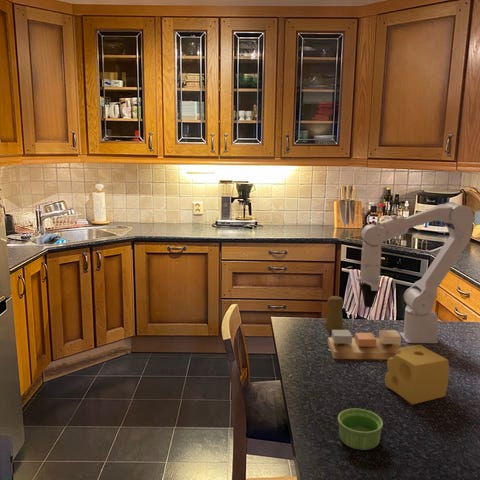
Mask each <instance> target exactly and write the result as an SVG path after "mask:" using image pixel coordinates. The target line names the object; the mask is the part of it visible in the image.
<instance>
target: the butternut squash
mask: <svg viewBox="0 0 480 480" xmlns="http://www.w3.org/2000/svg"><path fill="white" fill-rule="evenodd" d="M327 306H328V311H327V317H326V321H325V327H324V328H325V330H326V331H328V332H330V333H332V330H345V328H344V320H343V306H344V299H343V297H341V296H338V295H331V296H329V297H328V298H327Z"/></svg>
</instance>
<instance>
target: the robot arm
mask: <svg viewBox="0 0 480 480" xmlns="http://www.w3.org/2000/svg"><path fill="white" fill-rule="evenodd" d="M475 220H476V218H475V216H474V213H473V210H472V209H471V208H470V207H469V206H467V205H464V204H459V203H456V202H454V201H448V202H446V203H441V204H437V205H435V206H433V207H430V208H428V209H425V210H423V211H419V212H416V213H415V214H412V215H409V216H407V217H403V216H401V215H395V214H394V215H391V216H390V218H388V219H386V220H383V221H382V220H381V221H375V224H373V223H371V224H370V223H368V224H366V225H365V226H364V227H363V228H362V230H361V232H360V238H361V239H362V247H361V259H360V276H356V279H355V280H356V281H359V282H358V283H359V284H358V285H359V287H360V290H361V293H362V298H363V300H362V301H363V305H364V307H365V308H372V307H373V305H374V302H375V300H376V296H377V294H378V293H379V292H380V289H381V286H380V282H381V278H380V277H381V263H382V261H381V260H382V244H384V242H385V241H387V240H391V239H395V238H396V237H399V236H402V235H406V234H407V232H408V230H409V229H411V228H414V227H417V226H421V225H424V224H428V223H431V222H442V223H444V224H445V226H446V228H447V230H448V233H449V237H448V238H447V240H446V241H445V243H444V245H443V246H442V247H441V249H440V250H439V252H438V253H437V255H436V256H435V258H434V259H433V261H432V262H431V264H430V265H429V267H428V268H427V269H426V271H425V272H424V274H423V275H422V277H421V278H419V280H416V281H415V282H414V283H413V284H412V285H411V286H410V287H409V288H407V289H406V290H405V291H404V293H403V300H404V302H405V304H406V306H405V309H404V320H403V321H404V322H403V324H404V325H403V331H400V332H398V333H399V335H400V336H401V339H403V340H404V341H405V343H407V344H438V332H439V331H438V330H439V329H438V328H439V317H438V315H437V313H436V312H435V311H432V310H433V308H434V303H435V300H436V299H437V297H438V288H439V286H440V285H441V284H442V282H443V280H444V279H445V278H446V276H447V275H448V273H449V272H450V270H451V269H452V267H453V266H454V265H455V263H456V261H457V260H458V258H459V257H460V256H461V254H462V253H463V252H464V250H465V248H466V247H467V246H468V244H469V243H470V240H471V238H472V231H473V230H472V228H473V223H474V222H475Z"/></svg>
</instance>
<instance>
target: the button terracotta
mask: <svg viewBox="0 0 480 480" xmlns="http://www.w3.org/2000/svg"><path fill="white" fill-rule="evenodd" d="M354 338H355V341H356V343H357V345H358V346H359V347H376V338H377V337H375V335H374V334H373V332H355V335H354Z"/></svg>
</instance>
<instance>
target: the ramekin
mask: <svg viewBox="0 0 480 480" xmlns="http://www.w3.org/2000/svg"><path fill="white" fill-rule="evenodd" d="M337 422H338V435H339V438H340V439H339V440H341V442H342V443H344V445H346V446H347V447H349V448H351V449H355V450H360V451H368V450H372V449H374V448H376V447H377V446H378V445H379V444H380V441H381V434H382V430H383V426H384V422H383V420H382V418H381V417H380V416H379V415H378V414H377V413H375V412H373V411H371V410H367V409H364V408H347V409H344V410H342V411H341V412H339V414H338V416H337Z"/></svg>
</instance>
